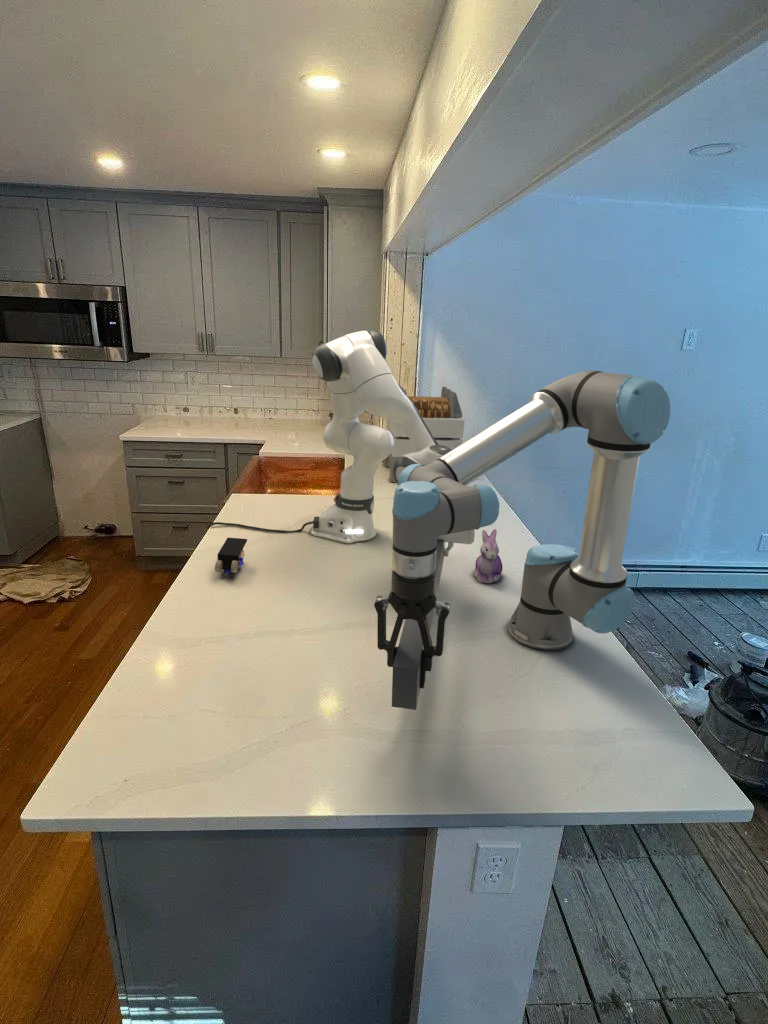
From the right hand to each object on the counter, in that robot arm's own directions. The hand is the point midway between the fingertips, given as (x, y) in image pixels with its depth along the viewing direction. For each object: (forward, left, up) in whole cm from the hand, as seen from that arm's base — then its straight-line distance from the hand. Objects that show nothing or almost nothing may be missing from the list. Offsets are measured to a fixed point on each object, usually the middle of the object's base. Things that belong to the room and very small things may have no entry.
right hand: (408, 681), depth 106 cm
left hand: (-43, -31, +3) cm, 53 cm away
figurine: (-64, -27, -9) cm, 70 cm away
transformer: (-132, -117, -9) cm, 177 cm away
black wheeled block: (-8, -79, -9) cm, 80 cm away
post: (-21, -16, 0) cm, 27 cm away
